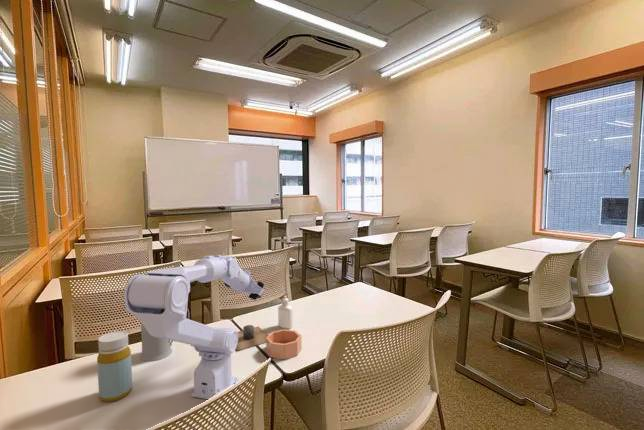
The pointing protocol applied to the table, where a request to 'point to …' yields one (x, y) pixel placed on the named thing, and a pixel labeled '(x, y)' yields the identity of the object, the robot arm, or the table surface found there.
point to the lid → (250, 337)
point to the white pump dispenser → (285, 315)
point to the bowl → (283, 344)
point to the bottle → (114, 366)
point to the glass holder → (154, 346)
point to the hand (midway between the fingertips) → (251, 290)
